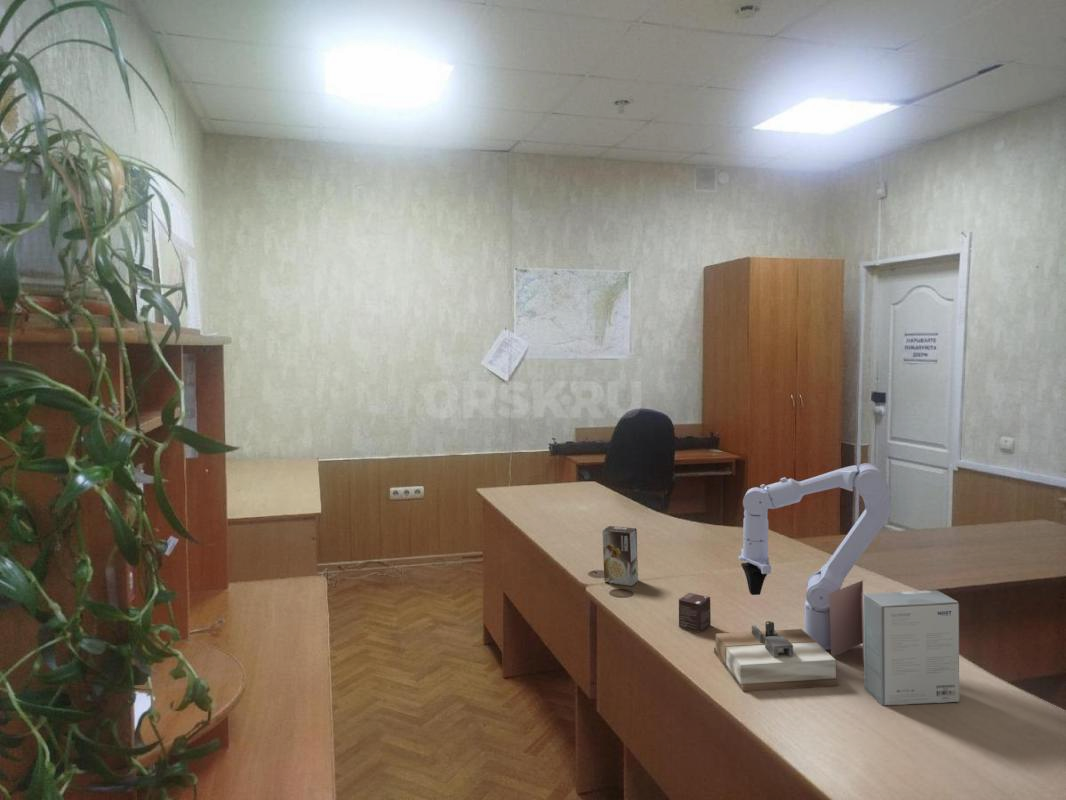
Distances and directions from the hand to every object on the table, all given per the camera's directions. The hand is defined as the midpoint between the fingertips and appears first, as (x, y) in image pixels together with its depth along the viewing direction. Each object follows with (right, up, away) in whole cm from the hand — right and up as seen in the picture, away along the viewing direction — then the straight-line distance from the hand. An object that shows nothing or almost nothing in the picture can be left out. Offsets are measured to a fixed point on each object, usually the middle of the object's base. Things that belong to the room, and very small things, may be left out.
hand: (754, 593), depth 173 cm
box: (-13, -11, +8) cm, 18 cm away
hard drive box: (+22, -12, -30) cm, 39 cm away
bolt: (-1, -6, -18) cm, 19 cm away
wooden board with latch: (-1, -12, -17) cm, 20 cm away
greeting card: (+20, -11, -12) cm, 25 cm away
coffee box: (-27, -8, +44) cm, 52 cm away
